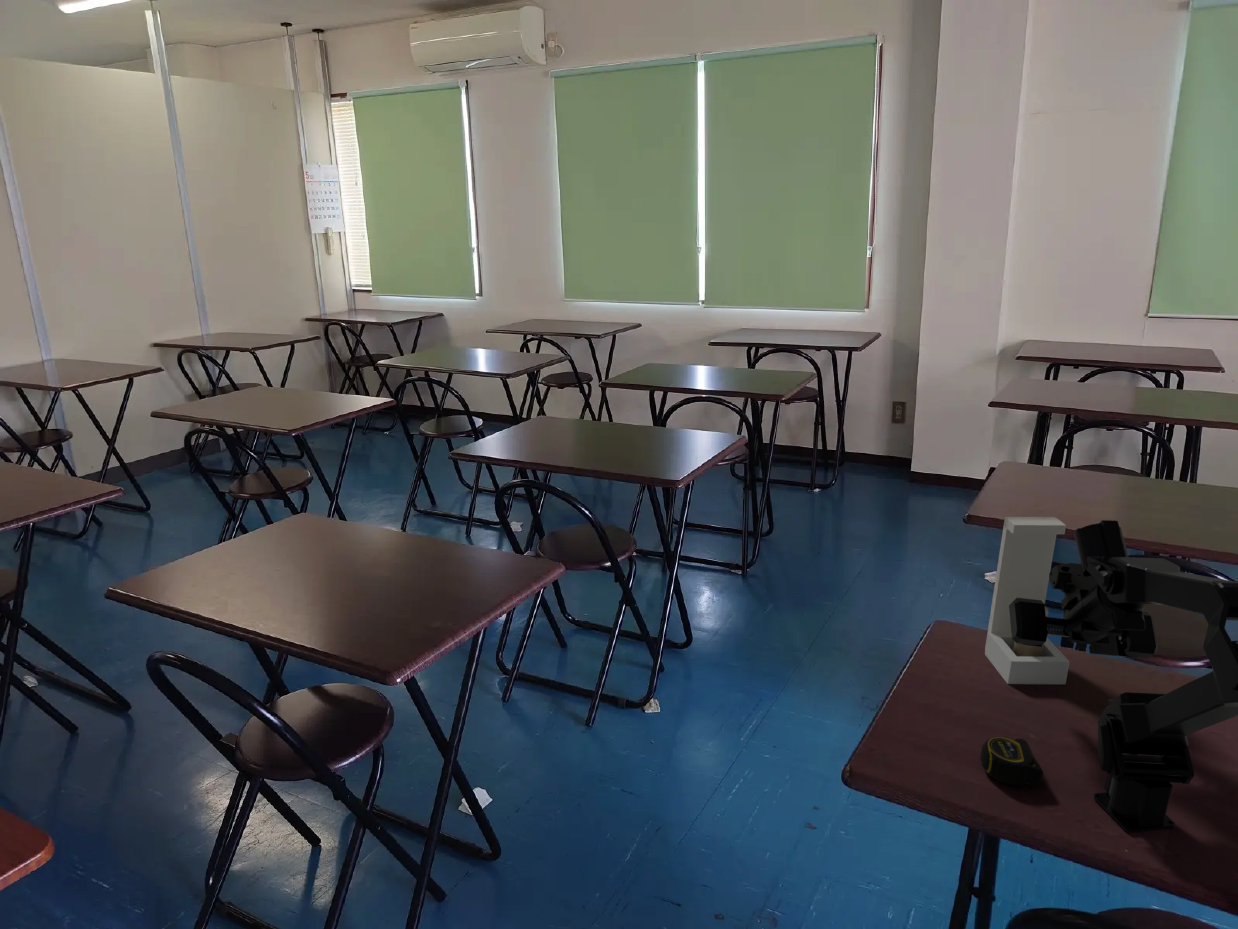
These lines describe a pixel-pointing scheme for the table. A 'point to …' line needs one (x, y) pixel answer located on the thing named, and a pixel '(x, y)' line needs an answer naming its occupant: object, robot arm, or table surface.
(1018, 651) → the peg
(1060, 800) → the table surface
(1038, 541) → the white holder stand
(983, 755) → the tape measure
